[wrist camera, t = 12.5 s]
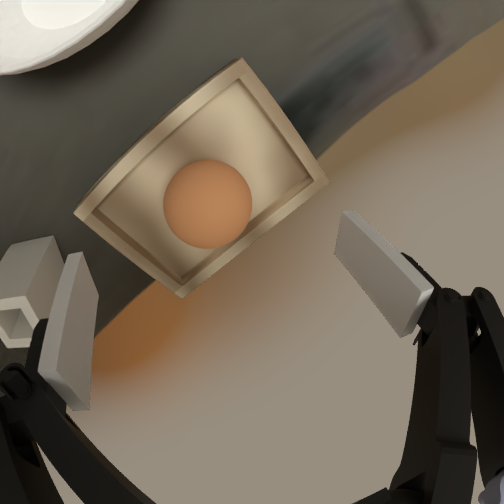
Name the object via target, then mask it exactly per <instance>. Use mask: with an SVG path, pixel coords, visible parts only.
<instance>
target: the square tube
mask: <svg viewBox="0 0 504 504" xmlns="http://www.w3.org/2000/svg"><path fill="white" fill-rule="evenodd" d="M64 265H65V264H64V262H63V259H62V257H61V254H60V251H59V249H58V246H57V243H56V240H55V237H54V235H52V236H47V237H43V238H38V239H33V240H29V241H24V242H20V243H15V244H11V245H10V247H9V249H8V250H7V252H6V253H5V255H4V256H3V258H2V260H1V261H0V338H1V340H2V341H3V343H4V344H5V345H6V347H7V348H20V347H29V346H30V342H31V341H32V339H31V338H32V334H33V331H34V328H35V326H36V325H37V323H38V322H39V320H40V319H45V318H49V316H50V312H51V308H52V305H53V301H54V298H55V294H56V291H57V287H58V284H59V281H60V278H61V275H62V271H63V268H64Z"/></svg>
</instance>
